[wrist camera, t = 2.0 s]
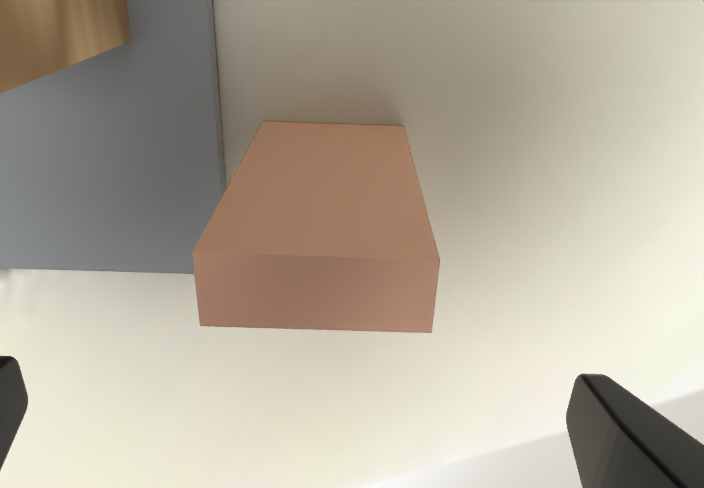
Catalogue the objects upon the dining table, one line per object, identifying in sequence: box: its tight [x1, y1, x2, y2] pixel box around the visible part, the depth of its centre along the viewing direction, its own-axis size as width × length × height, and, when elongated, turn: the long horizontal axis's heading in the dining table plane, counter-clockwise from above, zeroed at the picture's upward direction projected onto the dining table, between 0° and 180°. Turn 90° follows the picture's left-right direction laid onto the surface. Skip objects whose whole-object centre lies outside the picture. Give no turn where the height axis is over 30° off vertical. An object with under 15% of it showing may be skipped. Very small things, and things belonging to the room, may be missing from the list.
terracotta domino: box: [192, 121, 440, 333], centre depth 16 cm, size 2×5×10 cm, turn 88°
